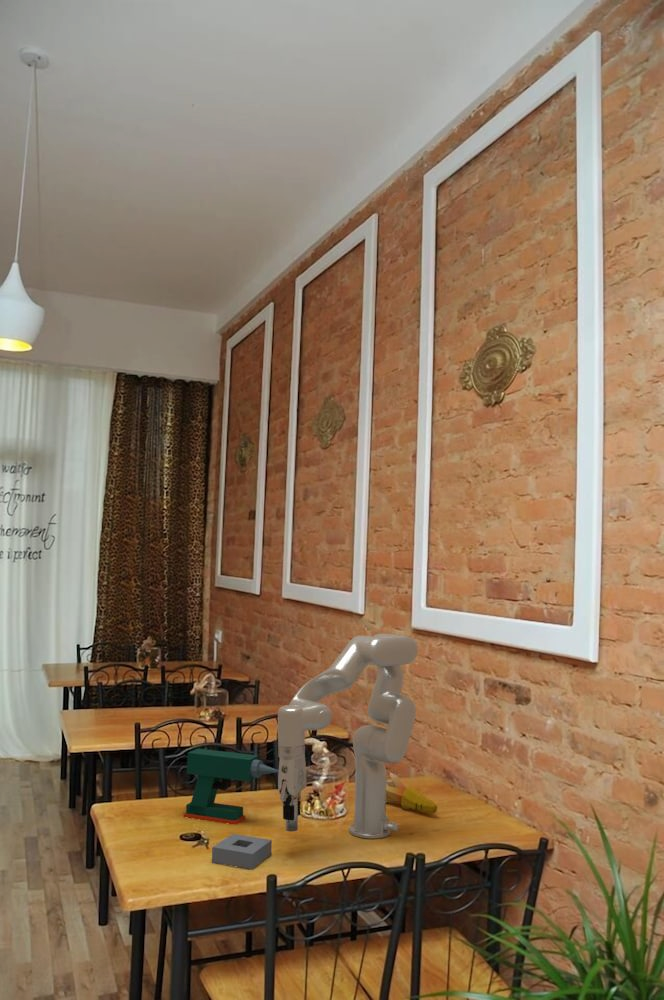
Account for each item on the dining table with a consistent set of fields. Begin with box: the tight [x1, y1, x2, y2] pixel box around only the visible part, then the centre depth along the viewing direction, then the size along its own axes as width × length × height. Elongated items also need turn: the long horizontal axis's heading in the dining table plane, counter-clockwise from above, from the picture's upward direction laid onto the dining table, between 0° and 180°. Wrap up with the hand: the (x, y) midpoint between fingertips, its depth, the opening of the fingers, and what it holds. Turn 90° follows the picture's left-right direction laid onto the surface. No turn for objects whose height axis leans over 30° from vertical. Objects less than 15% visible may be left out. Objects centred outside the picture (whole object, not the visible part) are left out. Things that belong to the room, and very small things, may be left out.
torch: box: [386, 772, 438, 814], centre depth 268 cm, size 8×8×25 cm
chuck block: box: [211, 833, 273, 871], centre depth 218 cm, size 12×12×4 cm
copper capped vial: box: [285, 792, 299, 832], centre depth 223 cm, size 4×4×11 cm
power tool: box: [183, 748, 279, 826], centre depth 250 cm, size 32×7×20 cm, turn 71°
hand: (291, 816), depth 223 cm, fingers closed on copper capped vial, 3 cm apart
